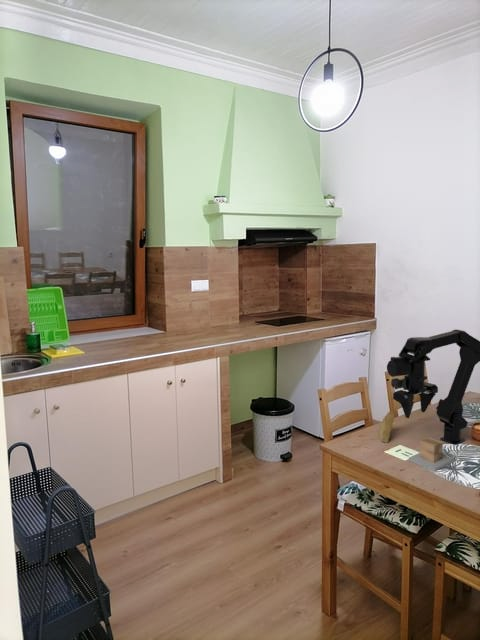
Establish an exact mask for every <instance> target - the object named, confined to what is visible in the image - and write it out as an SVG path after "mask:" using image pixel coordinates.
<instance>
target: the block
mask: <svg viewBox="0 0 480 640" xmlns="http://www.w3.org/2000/svg"><path fill="white" fill-rule="evenodd" d="M443 443H444V442H443V441H442V440H441V441H440V440H437V439H435V438H432V437H428V438H425V439H423V440H421V441H420V452H421V457H420V458H422V459H425V460H427V461H430V462H432V463H435V462H437V461H439V460H441V459H442V454H443V451H444V450H443V448H444V444H443ZM443 455H444V454H443Z"/></svg>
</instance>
